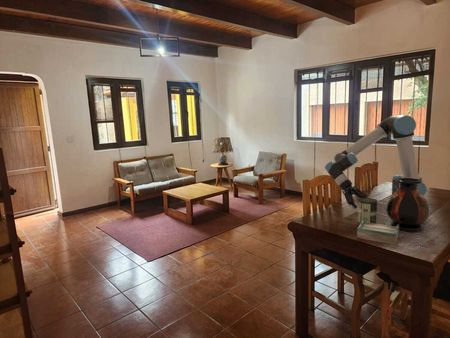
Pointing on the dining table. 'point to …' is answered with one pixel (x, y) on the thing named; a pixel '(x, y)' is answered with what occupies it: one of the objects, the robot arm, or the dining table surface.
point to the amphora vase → (408, 206)
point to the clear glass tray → (378, 232)
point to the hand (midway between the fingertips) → (366, 209)
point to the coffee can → (368, 210)
